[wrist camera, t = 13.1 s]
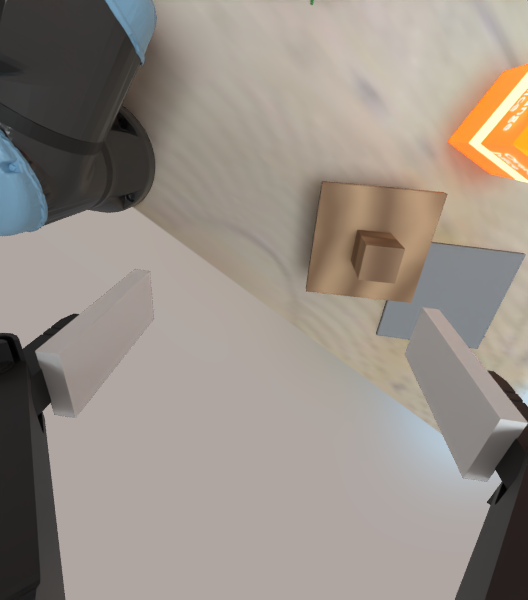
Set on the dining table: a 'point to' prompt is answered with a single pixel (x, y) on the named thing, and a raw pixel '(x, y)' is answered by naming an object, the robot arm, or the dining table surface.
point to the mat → (456, 291)
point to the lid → (372, 240)
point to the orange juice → (499, 128)
